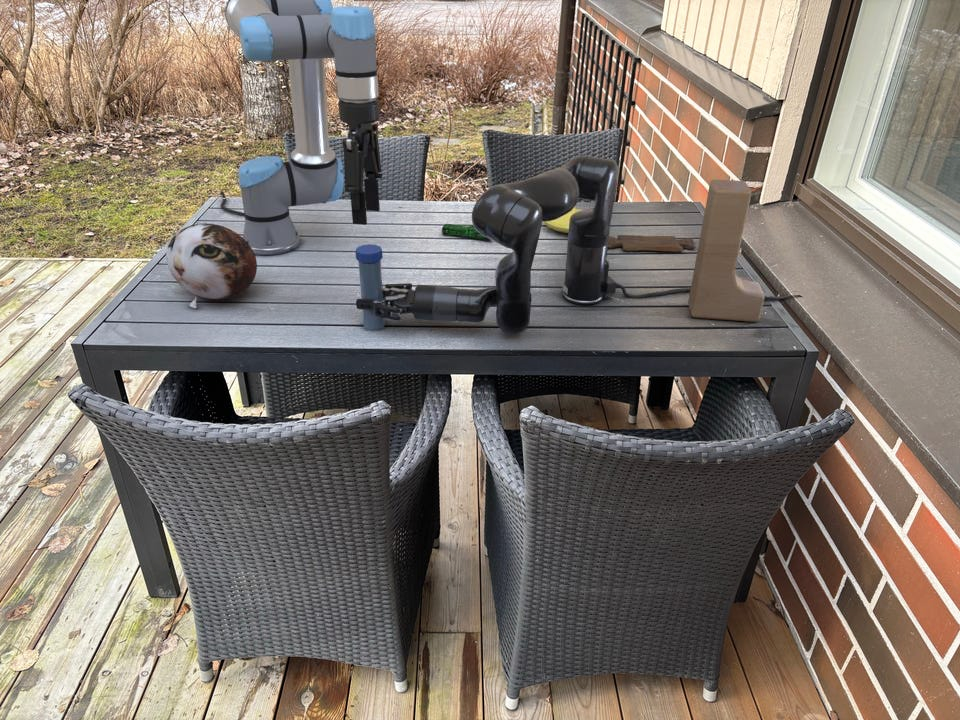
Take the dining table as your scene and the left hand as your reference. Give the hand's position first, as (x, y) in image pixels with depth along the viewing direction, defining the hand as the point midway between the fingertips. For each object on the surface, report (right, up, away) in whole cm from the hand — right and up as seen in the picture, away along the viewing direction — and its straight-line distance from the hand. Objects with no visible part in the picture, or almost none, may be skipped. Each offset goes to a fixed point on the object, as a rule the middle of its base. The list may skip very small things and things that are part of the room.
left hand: (366, 216), depth 145 cm
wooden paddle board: (+70, +3, +55) cm, 90 cm away
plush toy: (-39, -14, +24) cm, 48 cm away
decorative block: (+79, -19, +20) cm, 84 cm away
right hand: (-3, -16, +10) cm, 19 cm away
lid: (0, -6, +4) cm, 7 cm away
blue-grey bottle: (0, -21, +13) cm, 25 cm away
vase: (+49, +9, +66) cm, 83 cm away
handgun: (+22, +8, +63) cm, 67 cm away
